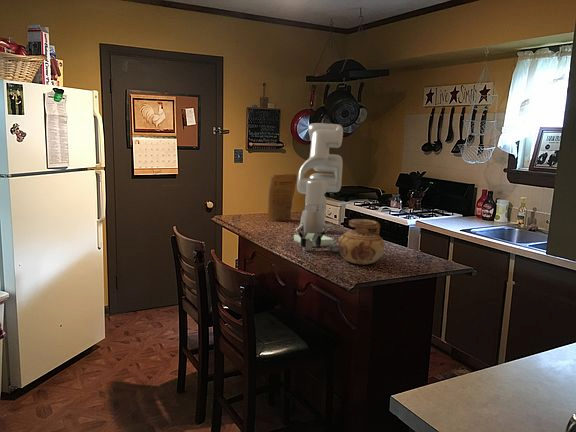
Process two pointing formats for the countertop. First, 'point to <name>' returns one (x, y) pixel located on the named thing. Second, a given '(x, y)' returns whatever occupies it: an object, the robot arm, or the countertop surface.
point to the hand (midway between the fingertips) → (310, 245)
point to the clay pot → (362, 242)
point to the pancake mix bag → (281, 197)
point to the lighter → (310, 242)
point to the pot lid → (334, 248)
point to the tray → (324, 242)
